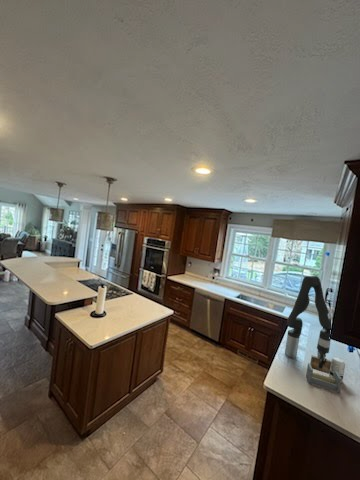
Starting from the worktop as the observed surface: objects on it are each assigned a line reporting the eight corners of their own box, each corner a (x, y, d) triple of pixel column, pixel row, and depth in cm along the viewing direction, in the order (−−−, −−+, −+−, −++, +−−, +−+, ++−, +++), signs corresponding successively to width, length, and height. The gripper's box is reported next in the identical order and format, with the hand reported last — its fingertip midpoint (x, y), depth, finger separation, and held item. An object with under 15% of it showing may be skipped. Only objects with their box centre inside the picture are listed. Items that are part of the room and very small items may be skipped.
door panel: (309, 366, 161) (311, 355, 161) (328, 371, 157) (330, 360, 157) (310, 368, 159) (312, 356, 158) (329, 374, 155) (331, 362, 154)
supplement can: (327, 374, 162) (330, 355, 161) (340, 378, 159) (343, 358, 158) (330, 380, 154) (333, 360, 154) (344, 384, 151) (347, 364, 151)
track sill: (306, 376, 155) (308, 362, 155) (334, 385, 149) (337, 371, 149) (308, 383, 147) (310, 369, 147) (339, 393, 141) (341, 379, 140)
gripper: (315, 338, 165) (311, 360, 166) (320, 347, 152) (316, 370, 153) (326, 341, 162) (322, 363, 163) (332, 350, 149) (328, 374, 150)
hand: (319, 366), depth 158 cm, fingers closed on door panel, 2 cm apart
